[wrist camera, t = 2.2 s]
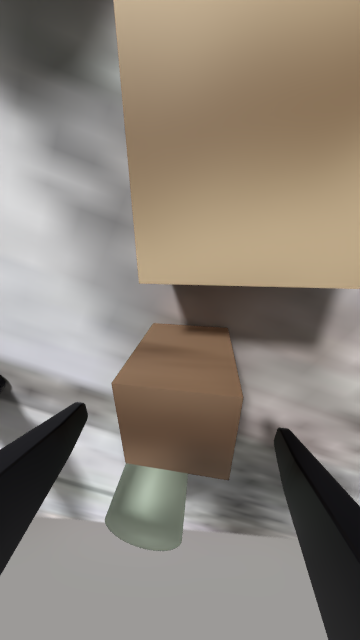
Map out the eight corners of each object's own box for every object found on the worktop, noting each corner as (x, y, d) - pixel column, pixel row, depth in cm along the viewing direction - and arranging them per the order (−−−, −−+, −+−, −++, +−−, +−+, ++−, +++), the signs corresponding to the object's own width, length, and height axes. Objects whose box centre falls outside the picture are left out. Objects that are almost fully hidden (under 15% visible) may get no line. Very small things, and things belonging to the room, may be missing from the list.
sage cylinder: (165, 463, 18) (146, 555, 13) (127, 433, 18) (90, 519, 12) (202, 444, 17) (198, 543, 11) (162, 410, 16) (137, 500, 10)
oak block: (308, 269, 10) (388, 289, 6) (167, 267, 11) (139, 283, 7) (362, 57, 7) (629, -268, 3) (161, 83, 8) (102, -115, 4)
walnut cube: (221, 387, 14) (228, 480, 8) (156, 380, 15) (125, 463, 9) (227, 327, 12) (243, 397, 7) (153, 323, 13) (111, 383, 7)
